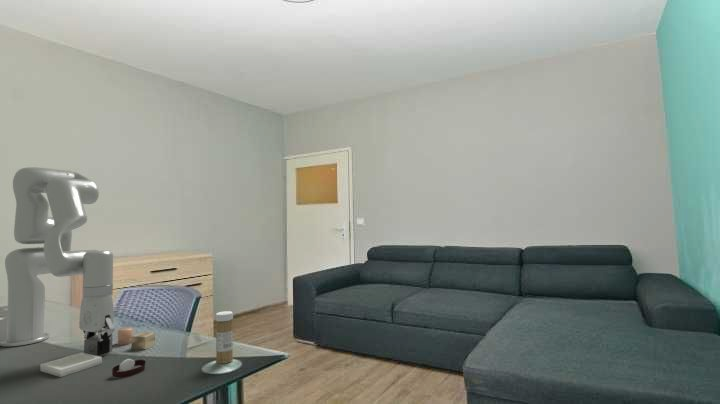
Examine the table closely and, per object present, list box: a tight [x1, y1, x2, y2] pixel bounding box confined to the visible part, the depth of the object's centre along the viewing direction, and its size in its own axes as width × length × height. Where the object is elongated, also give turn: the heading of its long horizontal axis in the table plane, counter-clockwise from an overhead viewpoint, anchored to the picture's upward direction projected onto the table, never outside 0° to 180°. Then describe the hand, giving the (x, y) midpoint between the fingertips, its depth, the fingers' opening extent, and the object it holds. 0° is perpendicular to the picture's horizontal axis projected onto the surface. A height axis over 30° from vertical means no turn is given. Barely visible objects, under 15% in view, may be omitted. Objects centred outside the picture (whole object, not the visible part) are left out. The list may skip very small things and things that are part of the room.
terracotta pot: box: [117, 326, 134, 346], centre depth 124 cm, size 4×4×4 cm
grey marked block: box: [83, 334, 113, 357], centre depth 113 cm, size 5×5×5 cm
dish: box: [39, 352, 103, 378], centre depth 102 cm, size 10×10×2 cm
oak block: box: [130, 332, 156, 350], centre depth 119 cm, size 5×4×4 cm
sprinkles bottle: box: [215, 310, 234, 365], centre depth 105 cm, size 5×5×14 cm
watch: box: [111, 358, 147, 379], centre depth 98 cm, size 8×5×4 cm, turn 141°
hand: (97, 351), depth 113 cm, fingers closed on grey marked block, 5 cm apart
